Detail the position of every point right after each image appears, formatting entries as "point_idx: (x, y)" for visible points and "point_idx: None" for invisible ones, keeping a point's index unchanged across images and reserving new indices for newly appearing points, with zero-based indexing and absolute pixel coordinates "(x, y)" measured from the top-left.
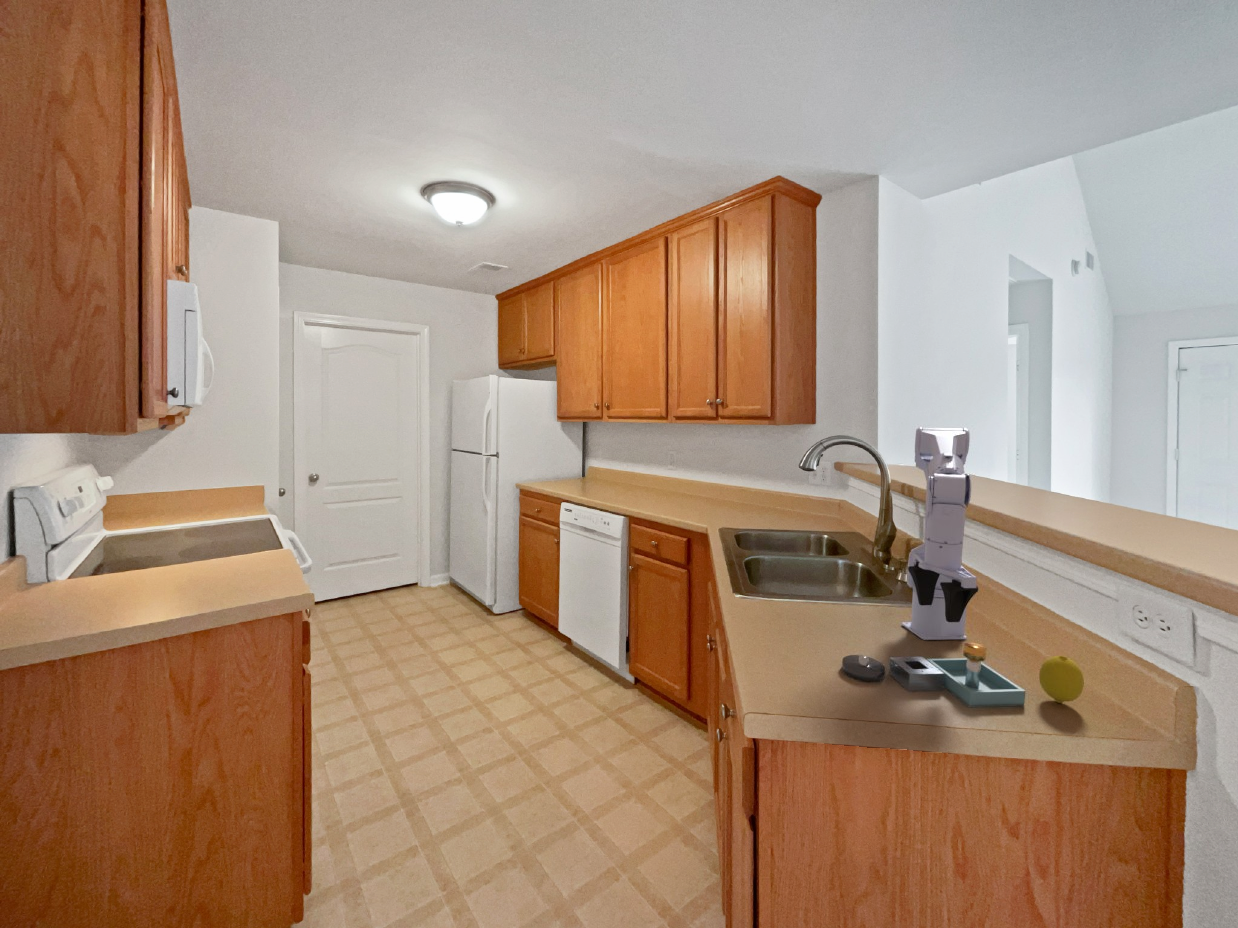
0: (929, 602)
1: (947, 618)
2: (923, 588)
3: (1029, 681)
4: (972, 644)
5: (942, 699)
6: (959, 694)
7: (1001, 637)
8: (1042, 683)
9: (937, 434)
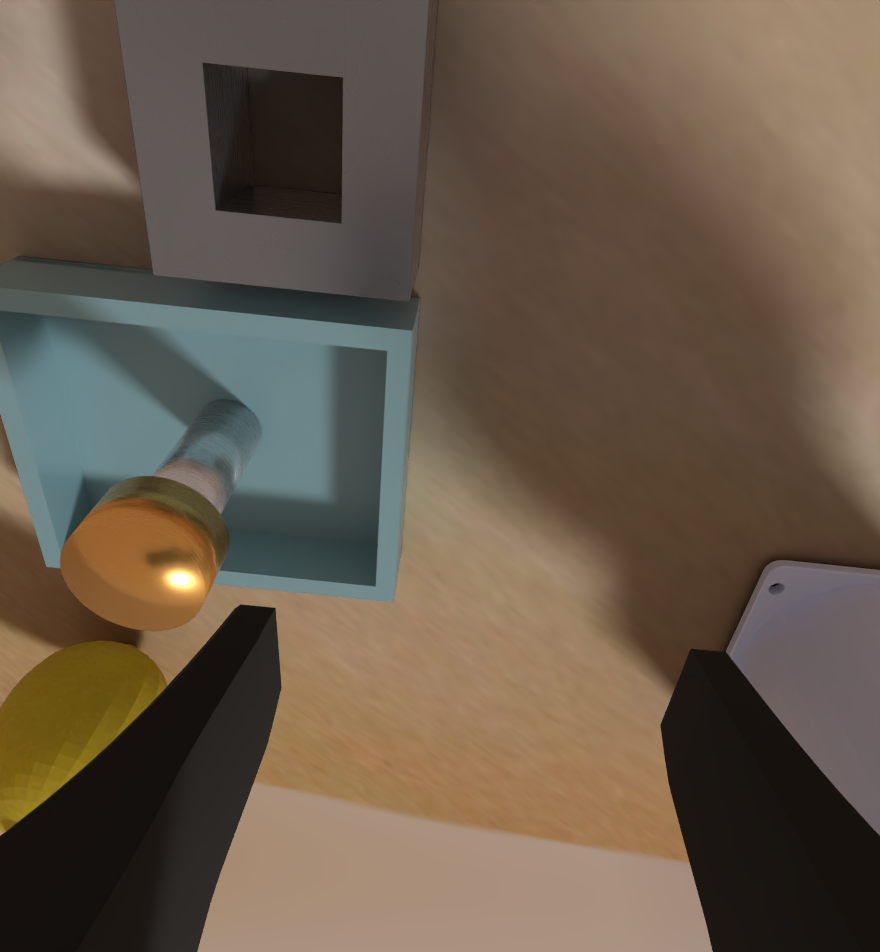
0: (672, 736)
1: (235, 624)
2: (761, 856)
3: (295, 675)
4: (164, 584)
5: (85, 154)
6: (89, 272)
7: (657, 834)
8: (96, 663)
9: None
